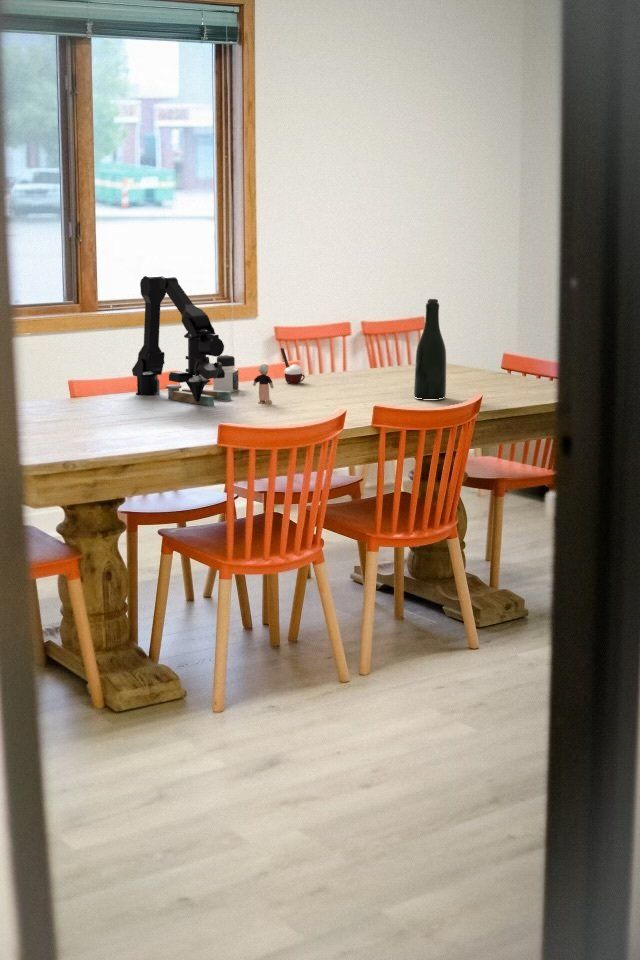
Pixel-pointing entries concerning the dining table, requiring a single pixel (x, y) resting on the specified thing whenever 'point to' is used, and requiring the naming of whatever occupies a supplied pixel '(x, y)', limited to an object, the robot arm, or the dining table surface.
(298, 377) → the cocoa
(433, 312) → the dark wine bottle
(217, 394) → the base
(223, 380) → the medicine bottle
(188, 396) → the tong leg
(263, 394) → the grandmother figurine
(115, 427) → the dining table surface
